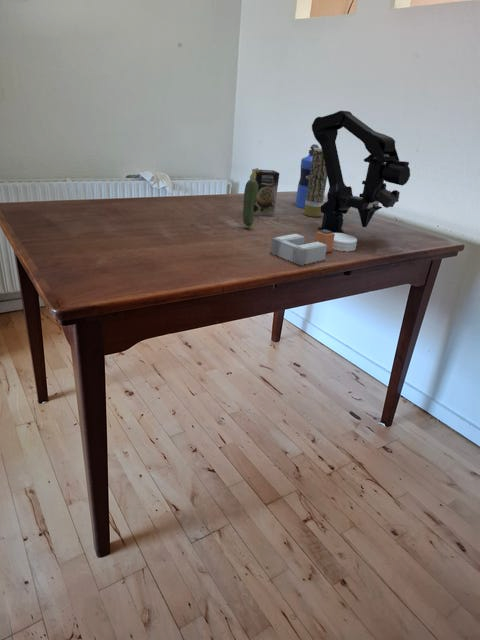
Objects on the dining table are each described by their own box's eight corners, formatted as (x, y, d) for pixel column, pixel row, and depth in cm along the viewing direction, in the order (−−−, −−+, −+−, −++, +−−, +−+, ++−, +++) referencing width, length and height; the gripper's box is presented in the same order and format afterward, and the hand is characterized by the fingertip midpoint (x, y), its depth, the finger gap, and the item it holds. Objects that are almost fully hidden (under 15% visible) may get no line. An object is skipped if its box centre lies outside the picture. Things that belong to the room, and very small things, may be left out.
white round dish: (356, 245, 149) (358, 235, 148) (354, 254, 141) (357, 243, 139) (325, 240, 151) (327, 230, 150) (322, 249, 143) (324, 238, 141)
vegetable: (238, 227, 155) (244, 167, 146) (244, 225, 158) (250, 165, 149) (250, 230, 153) (256, 169, 144) (256, 228, 157) (262, 167, 148)
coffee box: (252, 215, 172) (256, 171, 165) (247, 211, 177) (251, 168, 170) (274, 216, 174) (280, 172, 167) (269, 211, 180) (274, 169, 173)
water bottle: (291, 203, 198) (300, 142, 186) (310, 203, 201) (320, 143, 189) (300, 208, 190) (309, 145, 179) (320, 209, 193) (330, 146, 181)
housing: (270, 253, 133) (272, 237, 131) (294, 248, 140) (296, 232, 138) (300, 265, 126) (303, 249, 124) (324, 259, 132) (327, 244, 130)
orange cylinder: (313, 249, 140) (316, 229, 137) (321, 247, 143) (324, 228, 140) (323, 252, 138) (327, 233, 135) (331, 251, 140) (335, 231, 137)
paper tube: (321, 218, 178) (333, 151, 167) (304, 216, 178) (315, 149, 167) (319, 214, 184) (330, 149, 173) (302, 212, 184) (312, 147, 173)
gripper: (380, 185, 133) (368, 237, 140) (412, 182, 145) (400, 230, 152) (349, 178, 140) (339, 227, 147) (382, 175, 152) (372, 221, 159)
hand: (364, 226), depth 151 cm, fingers closed
